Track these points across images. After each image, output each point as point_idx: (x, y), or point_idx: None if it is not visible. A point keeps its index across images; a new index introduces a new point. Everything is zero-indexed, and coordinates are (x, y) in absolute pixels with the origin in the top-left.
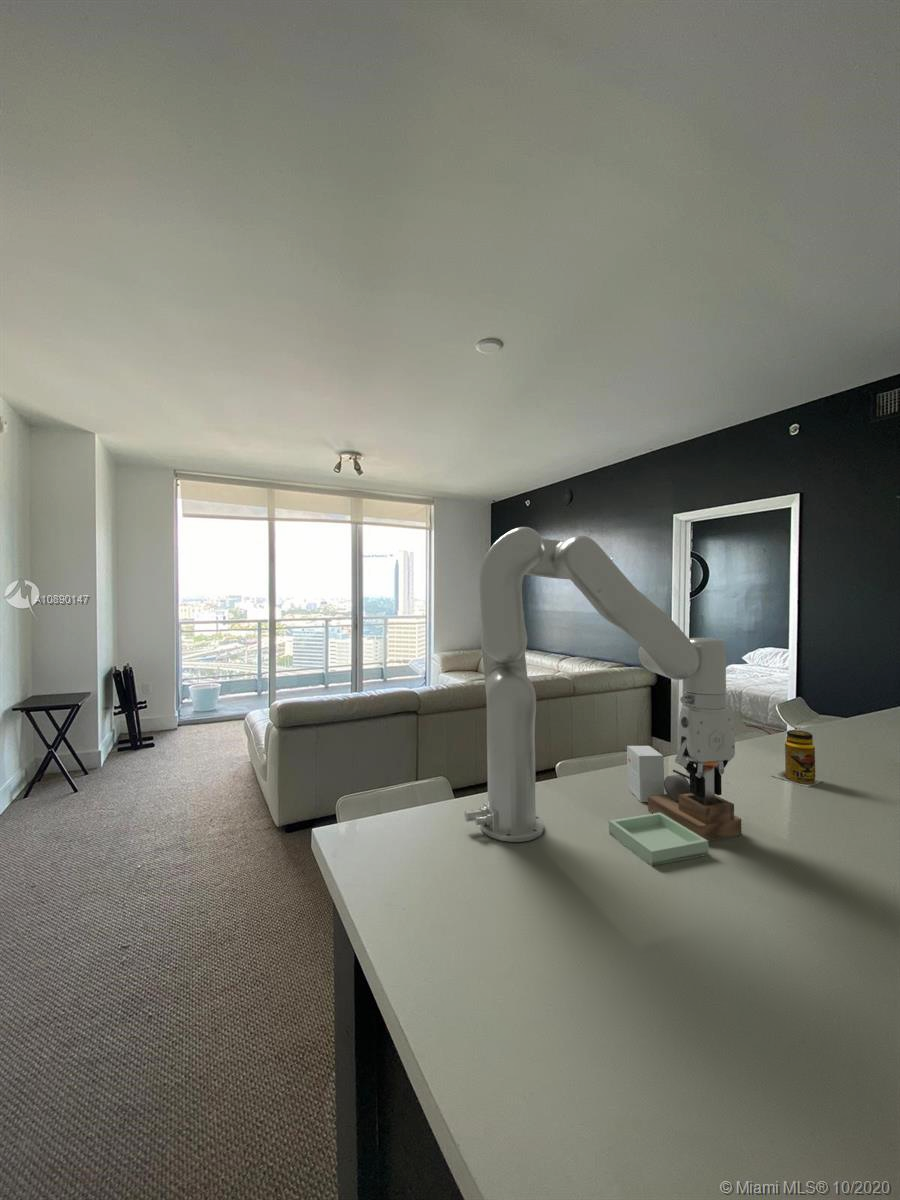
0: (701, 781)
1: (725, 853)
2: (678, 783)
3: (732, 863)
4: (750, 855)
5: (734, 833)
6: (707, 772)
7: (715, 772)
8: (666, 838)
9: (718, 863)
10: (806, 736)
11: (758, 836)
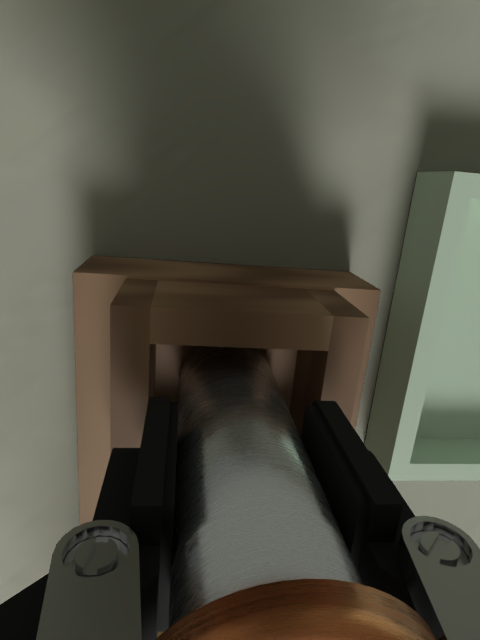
0: (383, 485)
1: (333, 151)
2: None
3: (388, 68)
4: (240, 84)
5: (137, 261)
6: (336, 553)
7: (159, 564)
8: (476, 331)
9: (443, 97)
10: None
11: (20, 208)
